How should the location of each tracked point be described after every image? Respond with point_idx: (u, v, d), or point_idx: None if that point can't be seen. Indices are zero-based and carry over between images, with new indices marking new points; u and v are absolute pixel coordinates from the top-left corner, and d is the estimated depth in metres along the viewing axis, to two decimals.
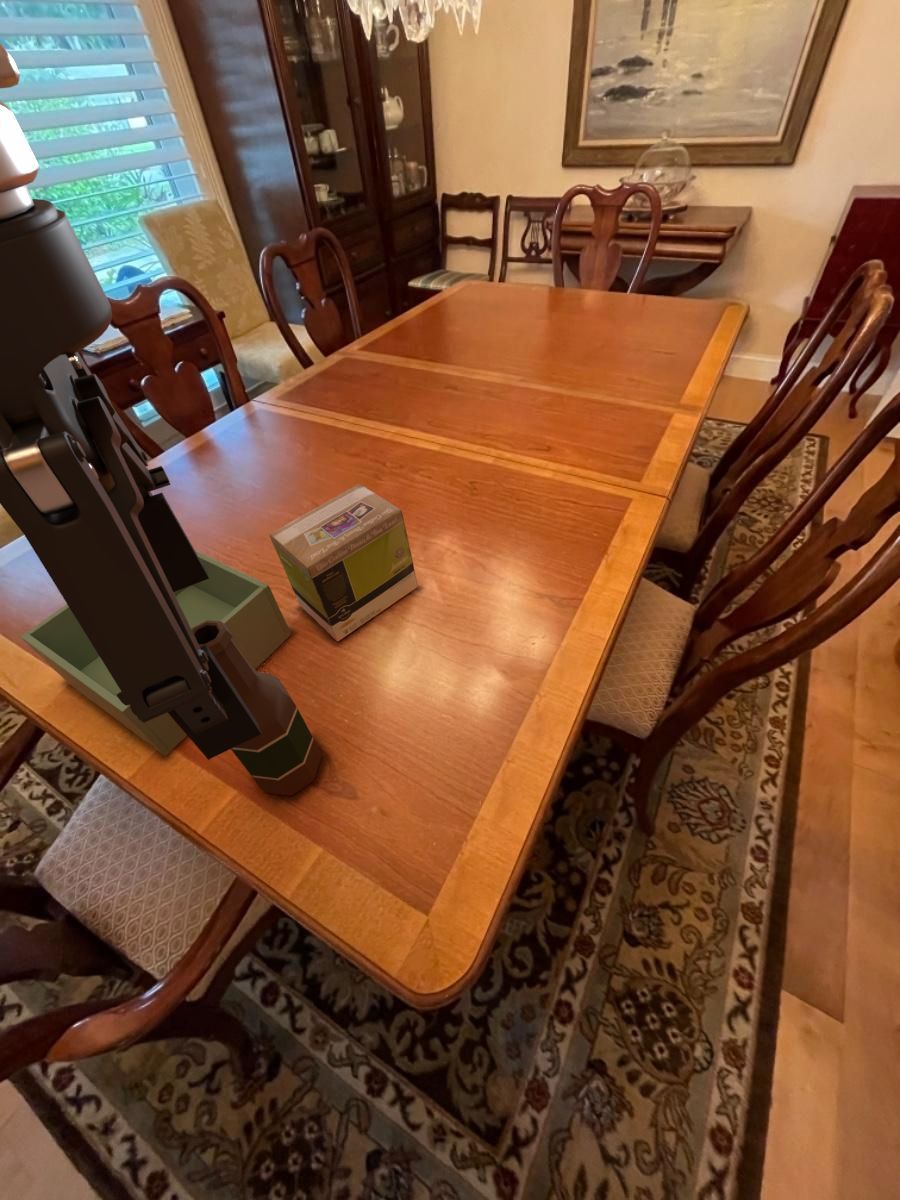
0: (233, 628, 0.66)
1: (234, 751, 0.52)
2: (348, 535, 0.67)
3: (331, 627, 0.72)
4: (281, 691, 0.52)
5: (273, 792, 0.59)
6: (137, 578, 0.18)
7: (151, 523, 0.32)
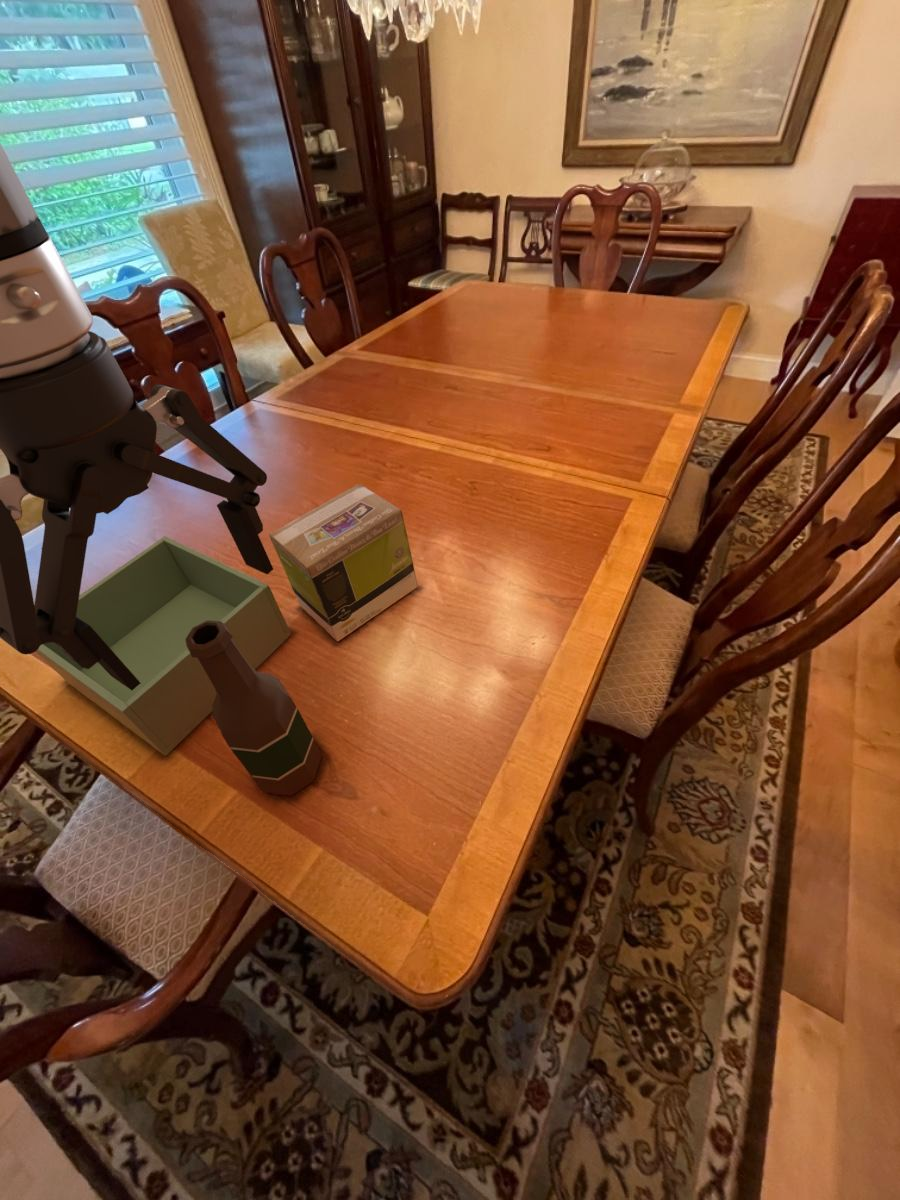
0: (233, 628, 0.66)
1: (234, 751, 0.52)
2: (348, 534, 0.67)
3: (331, 627, 0.72)
4: (281, 691, 0.52)
5: (273, 792, 0.59)
6: (2, 578, 0.30)
7: (234, 522, 0.43)
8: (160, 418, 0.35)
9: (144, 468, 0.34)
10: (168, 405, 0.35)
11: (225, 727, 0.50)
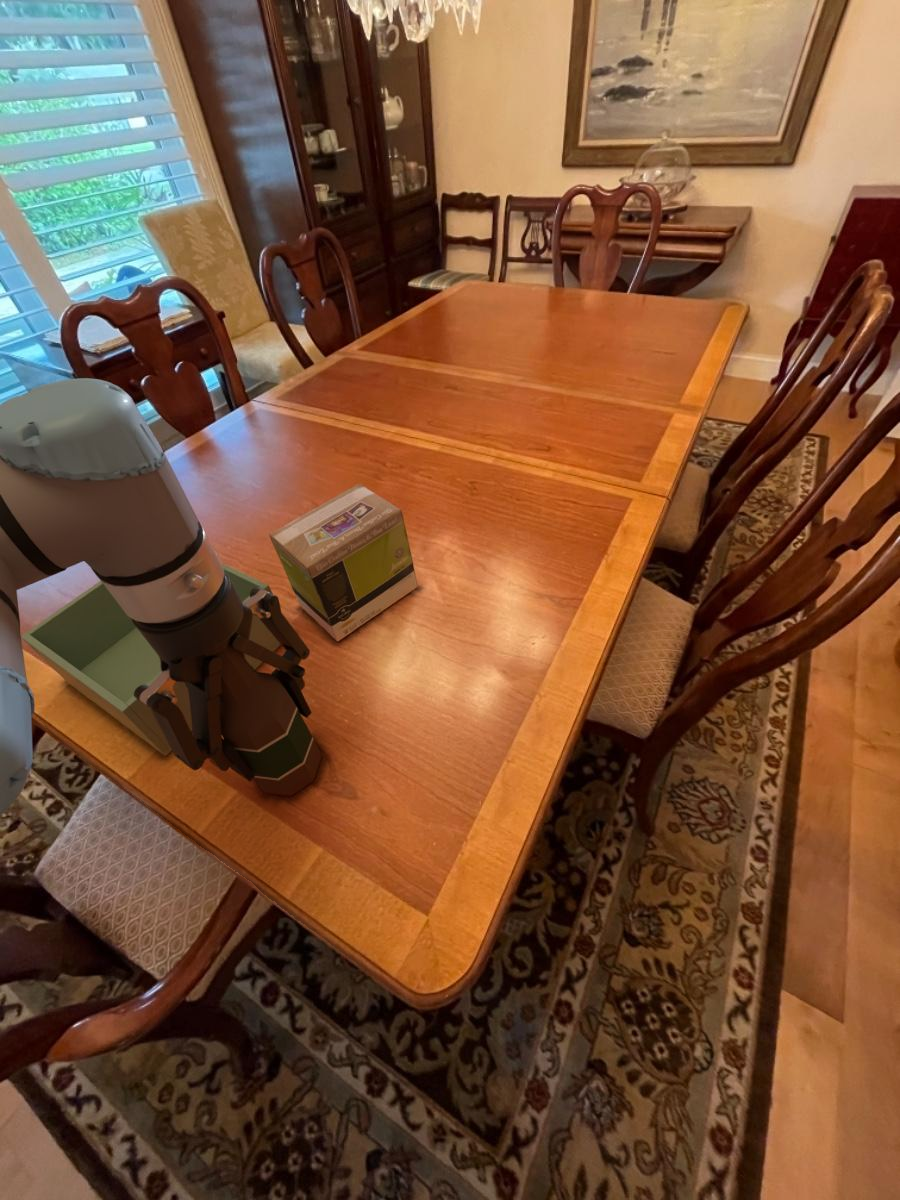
0: None
1: None
2: (348, 534, 0.67)
3: (331, 627, 0.72)
4: (281, 691, 0.52)
5: (273, 792, 0.59)
6: (175, 736, 0.44)
7: (284, 685, 0.56)
8: (255, 612, 0.48)
9: (245, 647, 0.46)
10: (262, 603, 0.48)
11: (225, 727, 0.50)
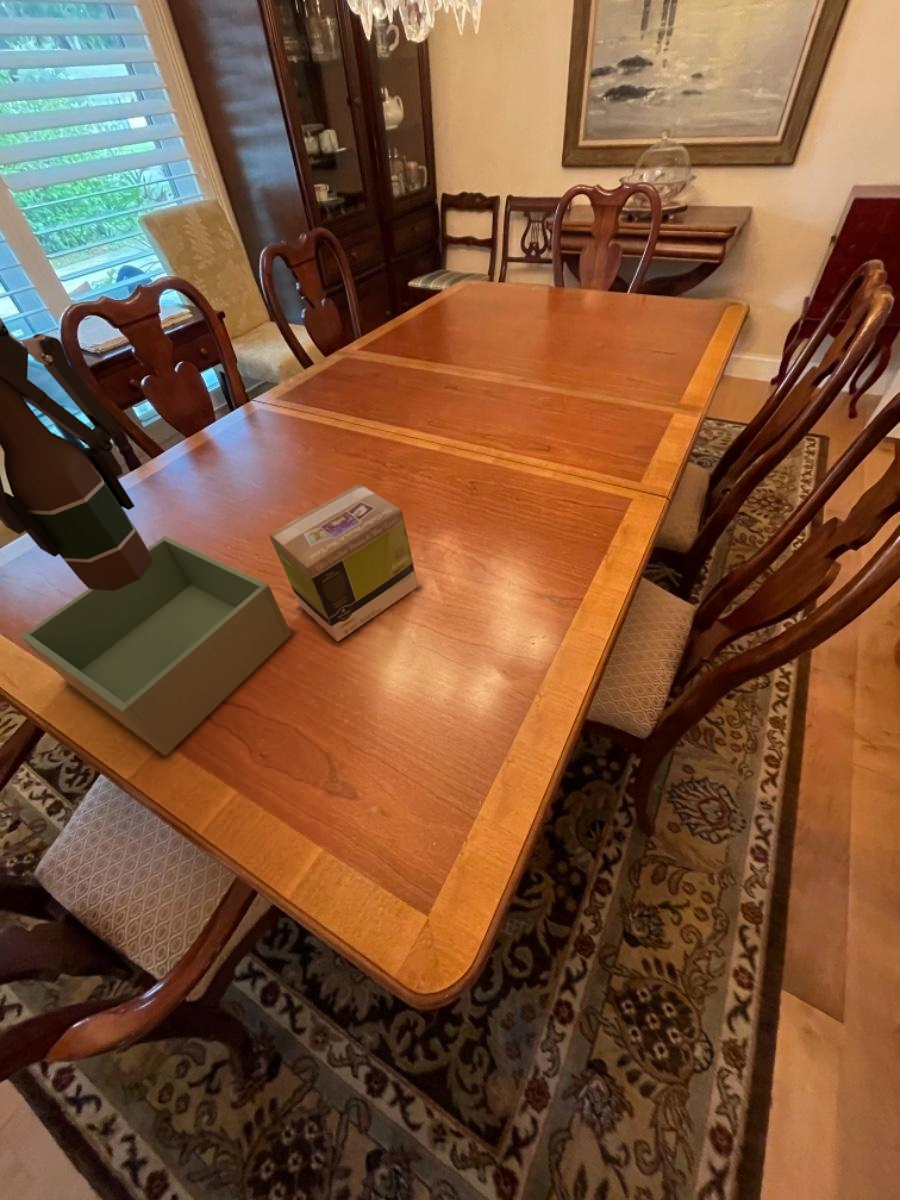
0: (233, 628, 0.66)
1: None
2: (348, 534, 0.67)
3: (331, 627, 0.72)
4: (78, 455, 0.51)
5: (94, 586, 0.58)
6: None
7: None
8: (33, 352, 0.47)
9: (16, 381, 0.45)
10: (43, 346, 0.47)
11: (12, 481, 0.49)
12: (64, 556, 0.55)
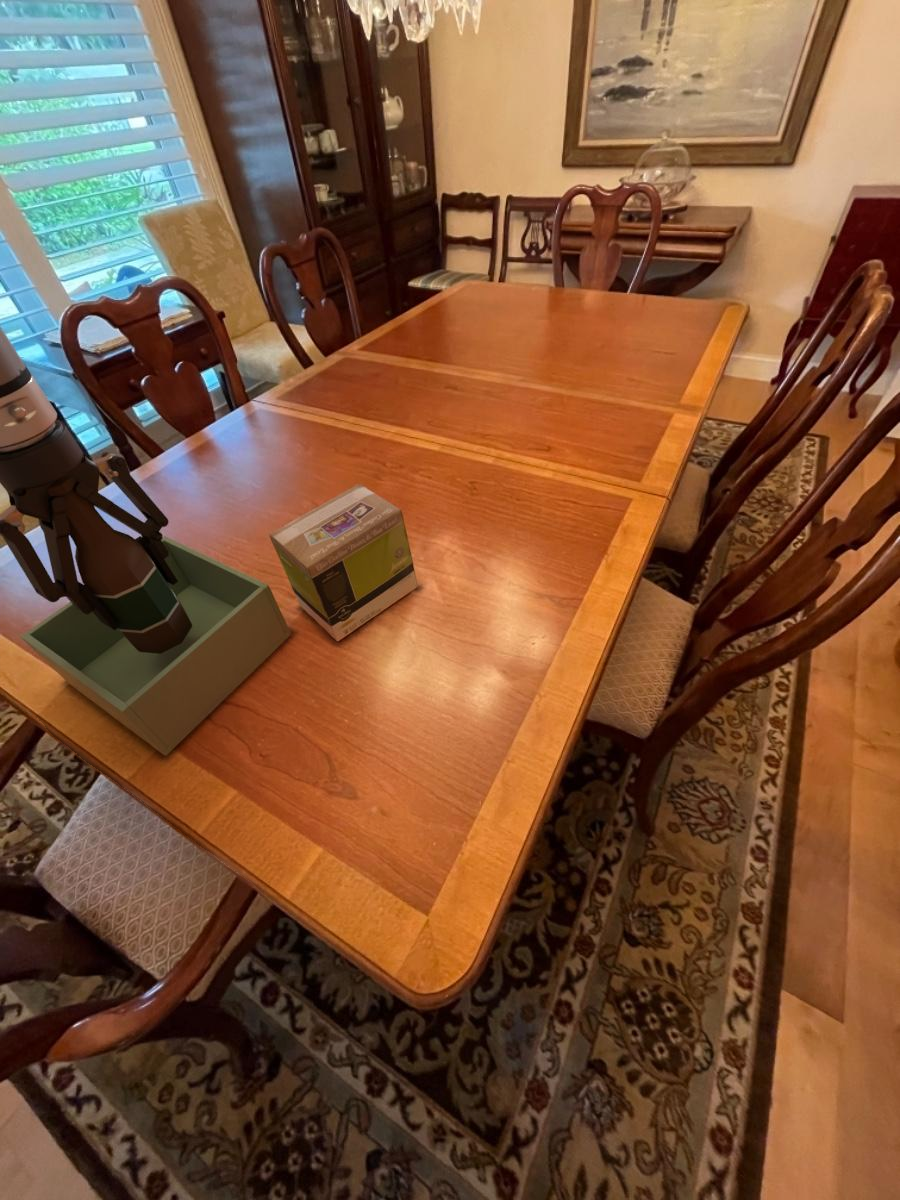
0: (233, 628, 0.66)
1: None
2: (348, 534, 0.67)
3: (331, 627, 0.72)
4: (136, 547, 0.61)
5: (144, 650, 0.68)
6: (26, 564, 0.53)
7: (146, 550, 0.64)
8: (103, 470, 0.57)
9: (91, 496, 0.55)
10: (110, 464, 0.57)
11: (83, 573, 0.59)
12: (121, 628, 0.65)
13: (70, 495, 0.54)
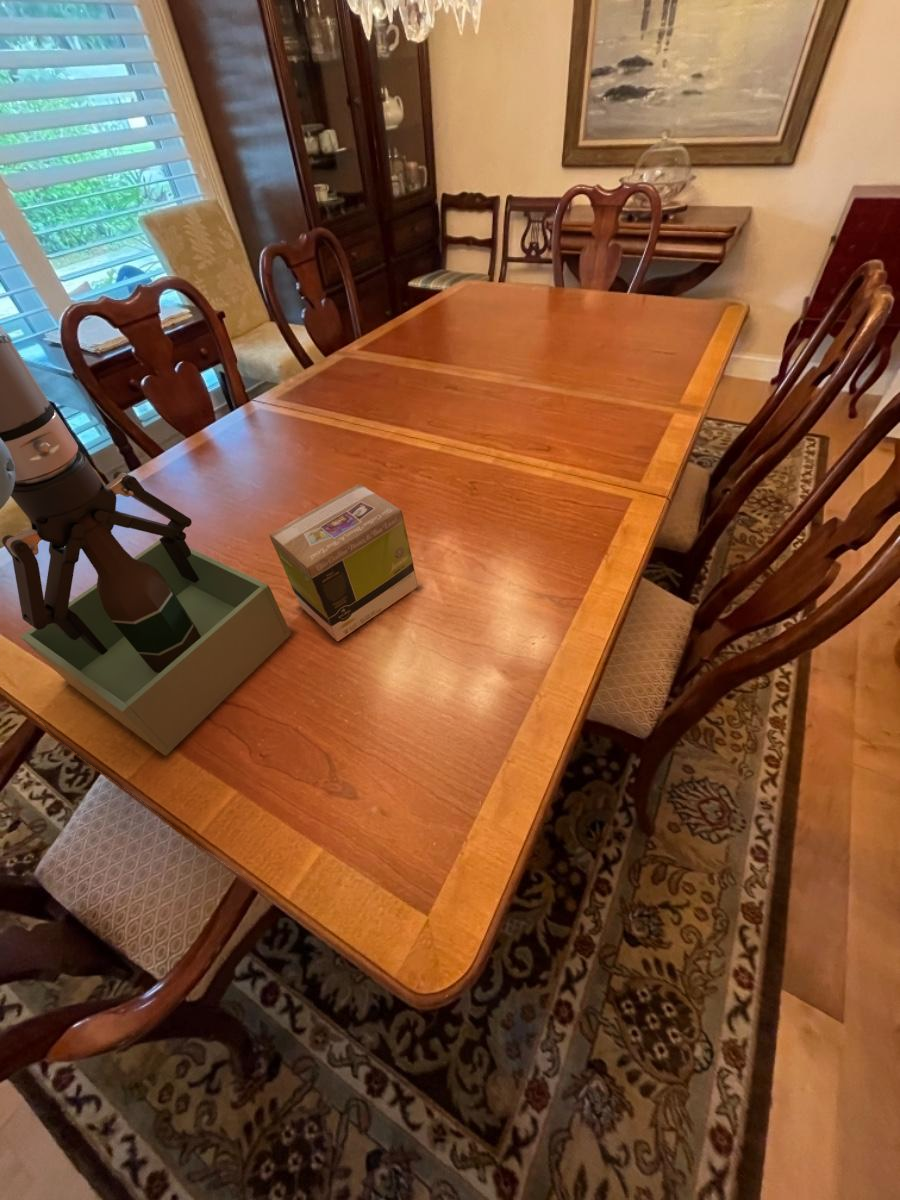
0: (233, 628, 0.66)
1: (116, 624, 0.64)
2: (348, 534, 0.67)
3: (331, 627, 0.72)
4: (154, 575, 0.64)
5: (160, 671, 0.71)
6: (26, 586, 0.54)
7: (170, 550, 0.67)
8: (118, 492, 0.59)
9: (108, 522, 0.58)
10: (123, 484, 0.59)
11: (105, 600, 0.62)
12: (139, 650, 0.68)
13: (94, 529, 0.57)
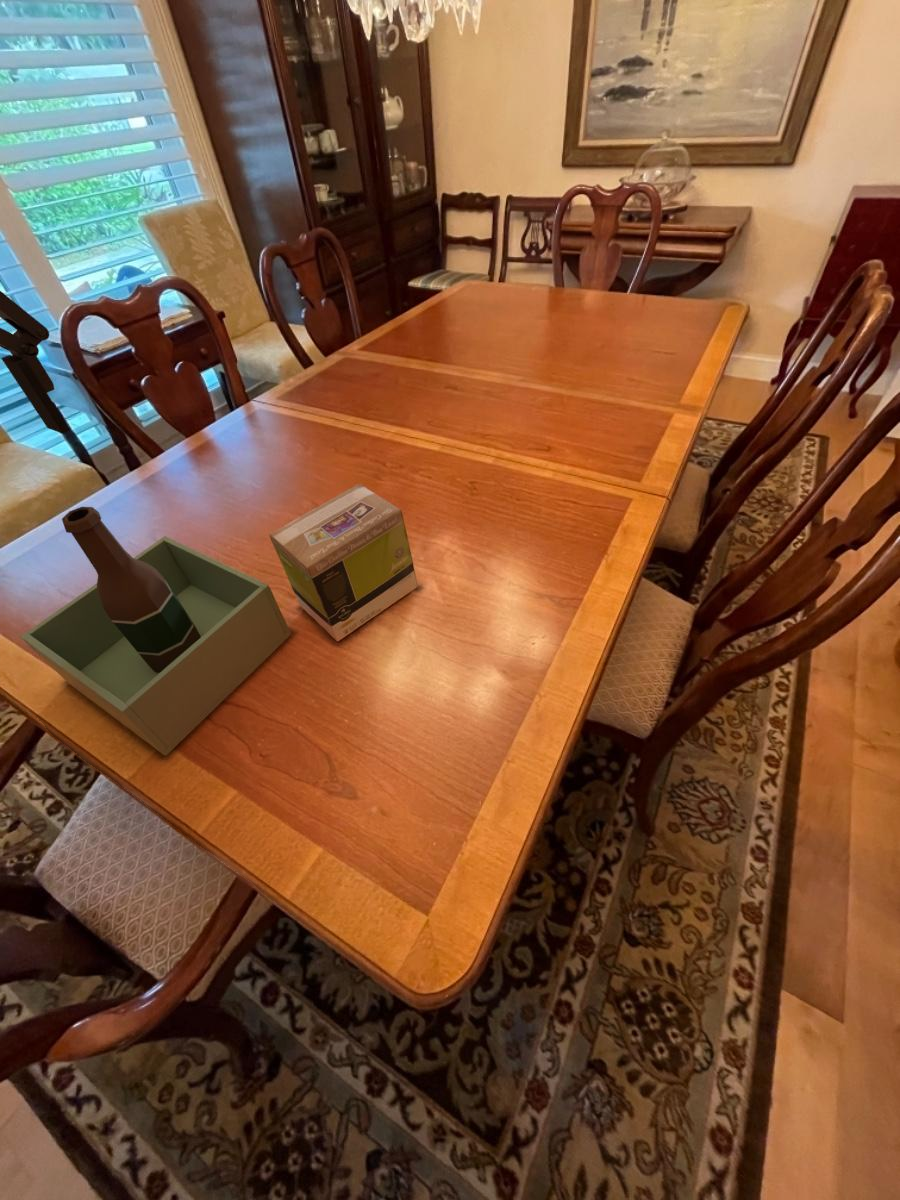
0: (233, 628, 0.66)
1: (116, 624, 0.64)
2: (348, 534, 0.67)
3: (331, 627, 0.72)
4: (154, 575, 0.64)
5: (160, 671, 0.71)
6: None
7: (18, 375, 0.46)
8: None
9: None
10: None
11: (105, 600, 0.62)
12: (139, 650, 0.68)
13: (94, 529, 0.57)
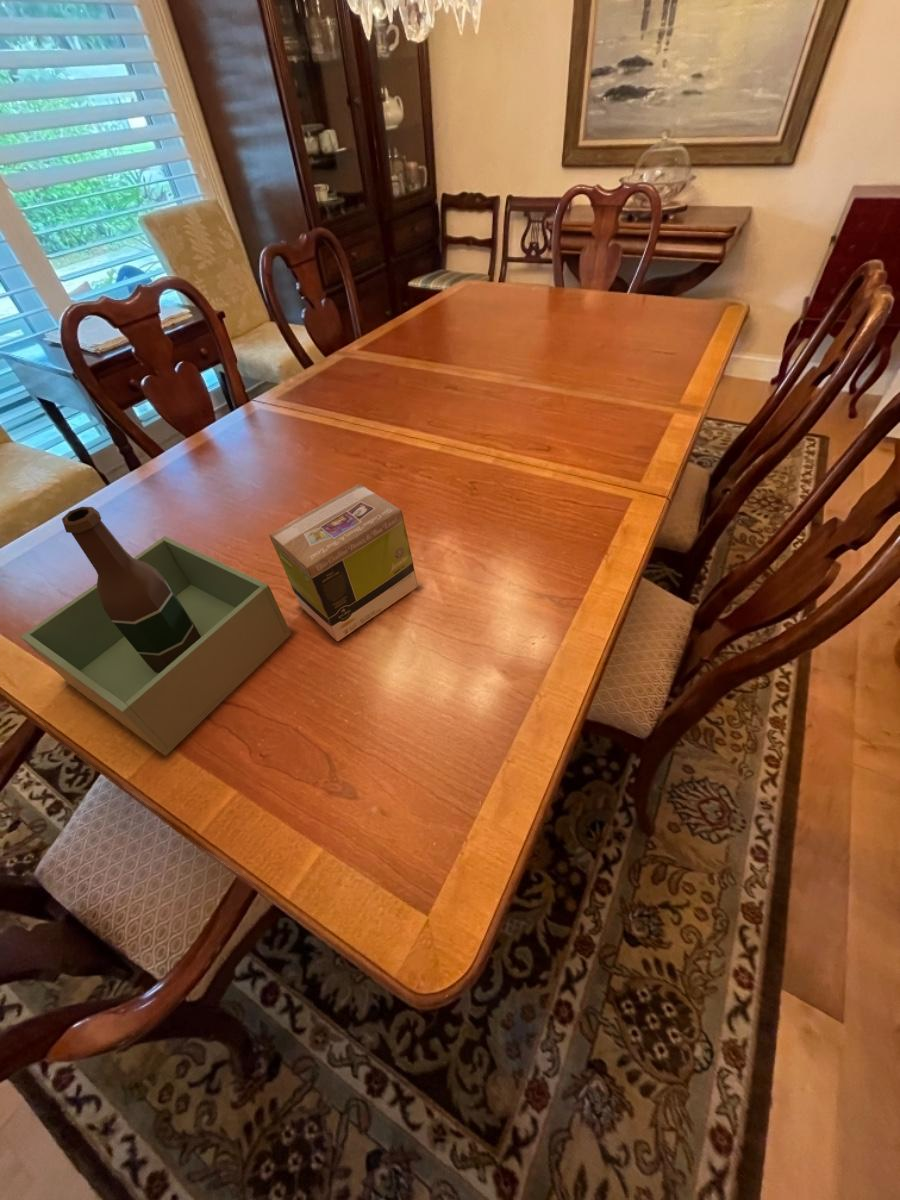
0: (233, 628, 0.66)
1: (116, 625, 0.64)
2: (348, 534, 0.67)
3: (331, 627, 0.72)
4: (154, 575, 0.64)
5: (160, 671, 0.71)
6: None
7: None
8: None
9: None
10: None
11: (105, 600, 0.62)
12: (139, 650, 0.68)
13: (94, 529, 0.57)
